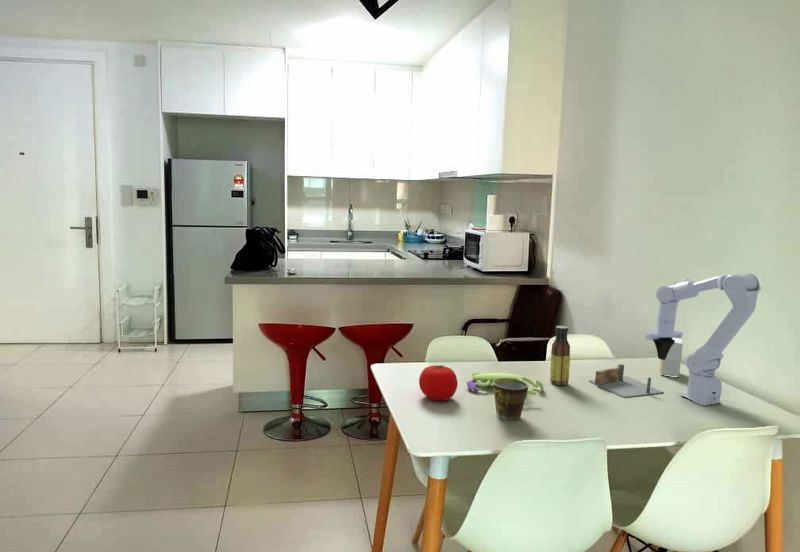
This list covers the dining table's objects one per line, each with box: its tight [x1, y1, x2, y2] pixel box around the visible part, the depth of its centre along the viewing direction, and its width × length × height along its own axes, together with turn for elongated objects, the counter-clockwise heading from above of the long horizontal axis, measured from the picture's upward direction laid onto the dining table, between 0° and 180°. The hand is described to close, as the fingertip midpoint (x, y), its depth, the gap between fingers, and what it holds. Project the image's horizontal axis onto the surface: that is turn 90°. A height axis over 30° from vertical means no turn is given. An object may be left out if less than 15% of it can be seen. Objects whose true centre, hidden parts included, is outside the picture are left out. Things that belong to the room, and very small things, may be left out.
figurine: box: [466, 372, 544, 396], centre depth 202 cm, size 18×27×6 cm
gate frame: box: [588, 363, 663, 399], centre depth 211 cm, size 17×17×6 cm
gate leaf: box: [594, 366, 620, 386], centre depth 213 cm, size 11×1×4 cm, turn 123°
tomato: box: [418, 364, 458, 402], centre depth 191 cm, size 12×12×10 cm
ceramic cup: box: [492, 378, 529, 422], centre depth 178 cm, size 13×10×10 cm
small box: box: [659, 338, 684, 377], centre depth 228 cm, size 8×6×13 cm
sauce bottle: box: [549, 325, 571, 386], centre depth 211 cm, size 6×6×20 cm
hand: (661, 358), depth 214 cm, fingers closed
